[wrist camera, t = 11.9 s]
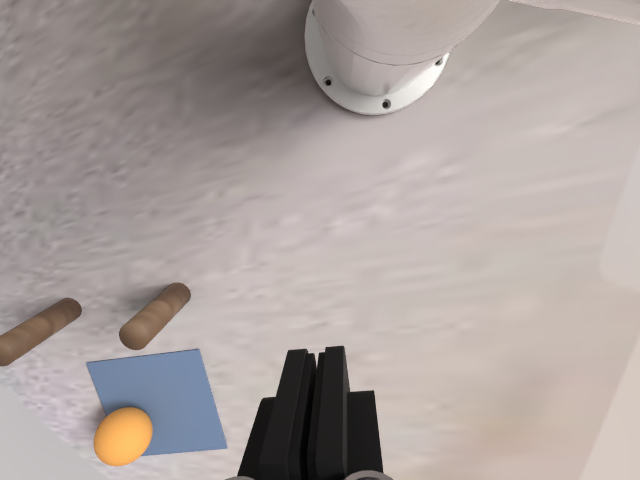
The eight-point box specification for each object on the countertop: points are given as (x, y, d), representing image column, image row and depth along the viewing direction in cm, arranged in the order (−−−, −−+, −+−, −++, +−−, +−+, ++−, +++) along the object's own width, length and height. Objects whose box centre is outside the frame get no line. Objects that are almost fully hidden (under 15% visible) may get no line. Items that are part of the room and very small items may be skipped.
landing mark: (87, 362, 43) (86, 363, 43) (199, 348, 42) (198, 349, 42) (123, 456, 47) (122, 457, 47) (227, 447, 46) (227, 448, 45)
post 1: (56, 299, 41) (-20, 342, 33) (77, 296, 41) (6, 339, 33) (64, 320, 42) (-9, 367, 33) (84, 317, 42) (17, 364, 33)
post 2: (164, 284, 40) (115, 325, 31) (187, 281, 40) (143, 321, 31) (171, 305, 41) (124, 351, 32) (193, 303, 40) (152, 348, 32)
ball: (101, 466, 43) (117, 411, 46) (153, 466, 43) (164, 411, 46) (74, 465, 38) (93, 403, 41) (132, 465, 38) (147, 403, 41)
